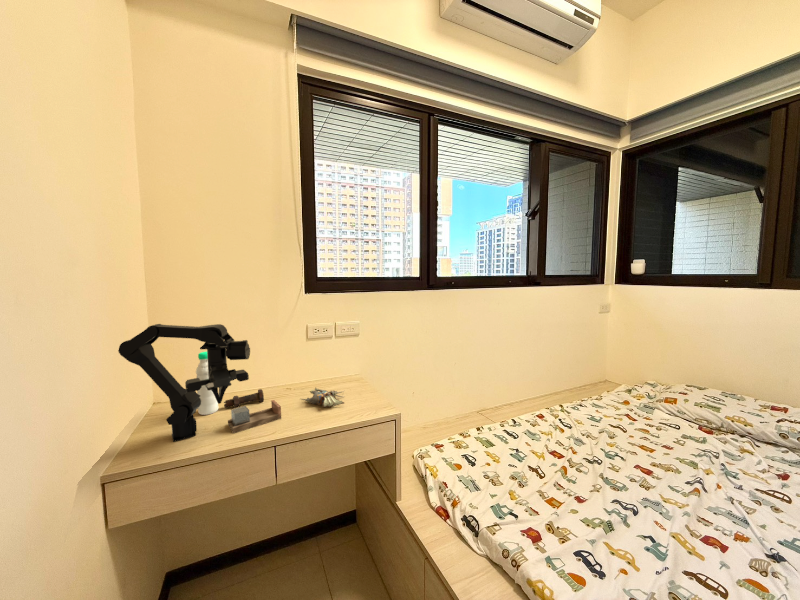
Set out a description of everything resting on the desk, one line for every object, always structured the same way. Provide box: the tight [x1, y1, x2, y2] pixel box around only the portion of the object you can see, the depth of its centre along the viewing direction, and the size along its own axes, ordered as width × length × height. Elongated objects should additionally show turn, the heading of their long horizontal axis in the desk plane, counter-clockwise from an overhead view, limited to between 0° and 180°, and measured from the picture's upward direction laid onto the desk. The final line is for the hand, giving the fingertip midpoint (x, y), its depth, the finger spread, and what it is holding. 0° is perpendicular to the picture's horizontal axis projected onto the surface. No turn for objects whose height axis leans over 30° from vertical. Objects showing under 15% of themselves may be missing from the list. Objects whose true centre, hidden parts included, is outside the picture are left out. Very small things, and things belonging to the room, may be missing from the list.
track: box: [227, 399, 282, 434], centre depth 117 cm, size 17×8×5 cm, turn 131°
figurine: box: [300, 387, 346, 408], centre depth 133 cm, size 20×6×17 cm
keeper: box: [230, 405, 251, 426], centre depth 114 cm, size 5×5×5 cm
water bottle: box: [195, 351, 219, 416], centre depth 125 cm, size 7×7×25 cm
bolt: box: [223, 388, 265, 409], centre depth 133 cm, size 6×5×15 cm
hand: (219, 403), depth 109 cm, fingers closed
